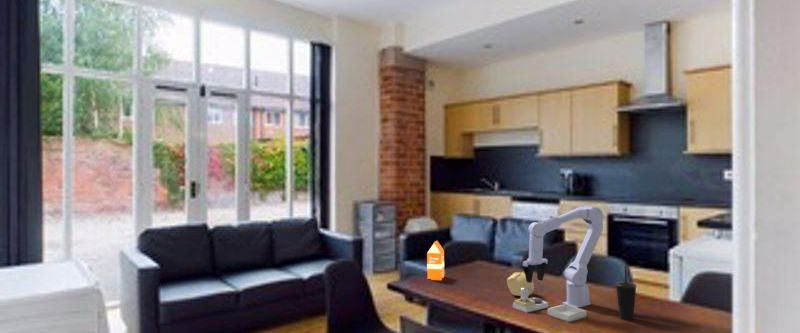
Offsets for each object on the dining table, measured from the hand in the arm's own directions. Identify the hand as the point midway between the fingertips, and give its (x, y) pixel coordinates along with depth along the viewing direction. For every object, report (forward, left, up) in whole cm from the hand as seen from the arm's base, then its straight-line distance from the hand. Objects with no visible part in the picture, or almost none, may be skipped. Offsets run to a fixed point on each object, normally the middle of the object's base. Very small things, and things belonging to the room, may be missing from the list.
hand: (534, 281), depth 204 cm
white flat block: (+3, 0, -11) cm, 11 cm away
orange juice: (+8, -65, -11) cm, 66 cm away
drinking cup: (-18, +31, -11) cm, 38 cm away
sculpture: (-7, -16, -11) cm, 21 cm away
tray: (-1, +16, -11) cm, 19 cm away
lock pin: (+6, 0, -9) cm, 11 cm away
